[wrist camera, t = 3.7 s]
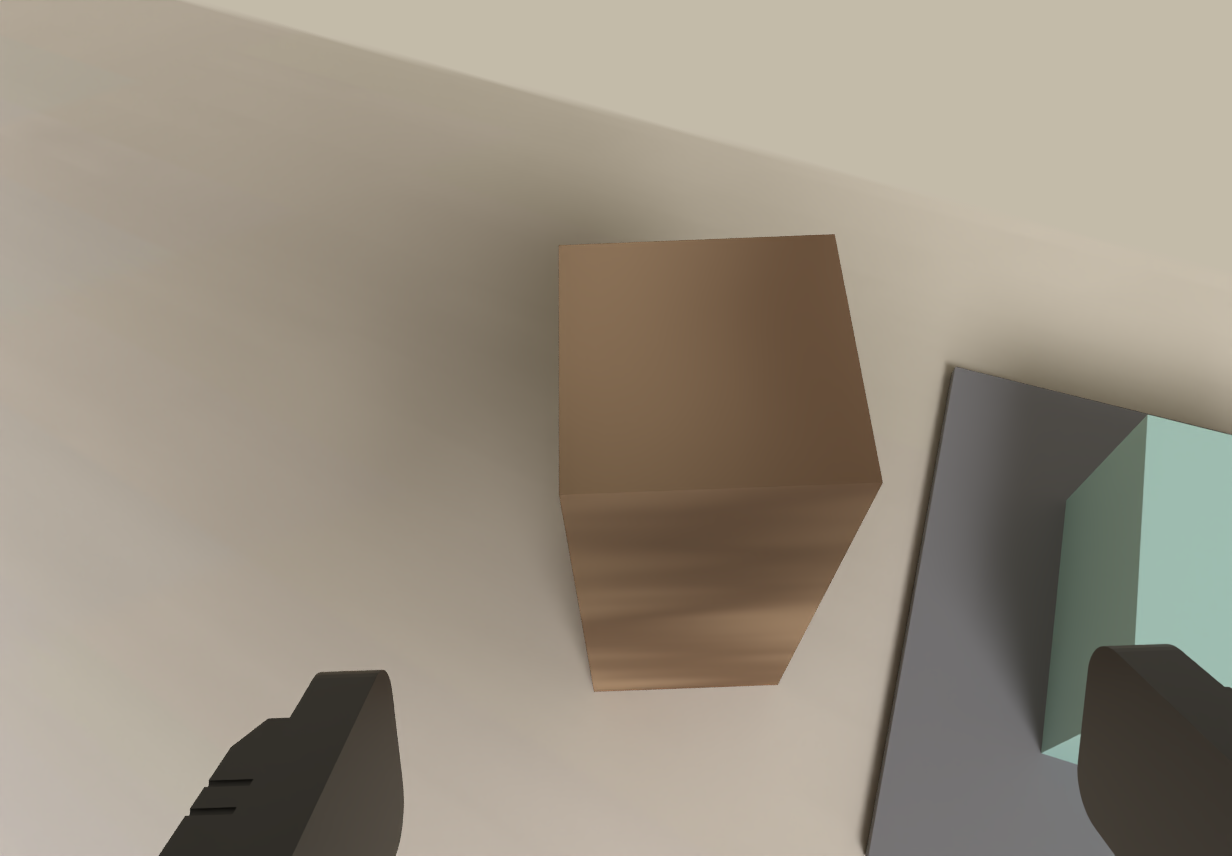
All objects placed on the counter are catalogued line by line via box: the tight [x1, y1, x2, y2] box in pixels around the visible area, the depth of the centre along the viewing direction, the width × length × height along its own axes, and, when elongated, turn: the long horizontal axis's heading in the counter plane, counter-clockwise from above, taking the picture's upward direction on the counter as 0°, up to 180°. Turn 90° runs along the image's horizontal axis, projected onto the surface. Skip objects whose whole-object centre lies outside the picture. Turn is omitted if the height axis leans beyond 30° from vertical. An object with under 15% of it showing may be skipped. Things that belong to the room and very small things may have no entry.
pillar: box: [559, 234, 883, 692], centre depth 17 cm, size 4×4×10 cm
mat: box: [866, 367, 1231, 856], centre depth 20 cm, size 12×12×1 cm
